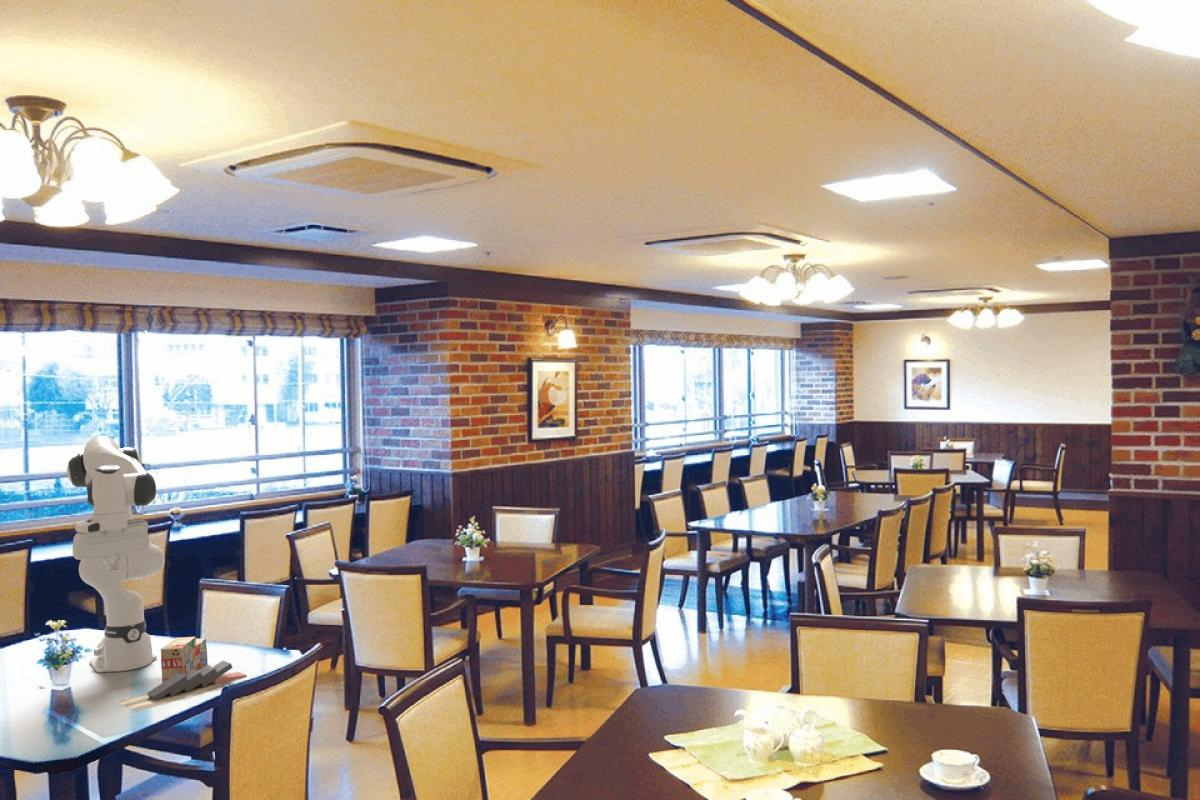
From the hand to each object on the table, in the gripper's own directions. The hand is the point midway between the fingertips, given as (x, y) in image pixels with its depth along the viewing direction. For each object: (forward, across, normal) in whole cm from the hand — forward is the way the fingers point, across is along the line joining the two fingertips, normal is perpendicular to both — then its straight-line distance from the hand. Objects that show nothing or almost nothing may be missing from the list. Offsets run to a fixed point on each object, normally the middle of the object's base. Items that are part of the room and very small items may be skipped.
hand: (113, 570), depth 277 cm
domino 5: (+37, -24, +8) cm, 45 cm away
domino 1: (+37, -6, +8) cm, 38 cm away
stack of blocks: (+40, -24, -10) cm, 47 cm away
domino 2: (+37, -10, +8) cm, 39 cm away
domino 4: (+37, -20, +8) cm, 43 cm away
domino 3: (+37, -15, +8) cm, 41 cm away
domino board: (+39, -12, +8) cm, 42 cm away
